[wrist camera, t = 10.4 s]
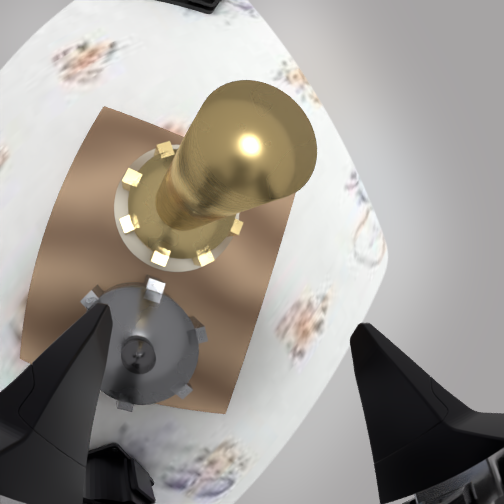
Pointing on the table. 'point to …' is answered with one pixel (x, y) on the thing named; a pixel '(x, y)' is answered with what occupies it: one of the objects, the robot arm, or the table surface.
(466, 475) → the robot arm
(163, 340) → the sun gear
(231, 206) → the gear
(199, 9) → the end cap
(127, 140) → the carrier board
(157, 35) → the table surface
